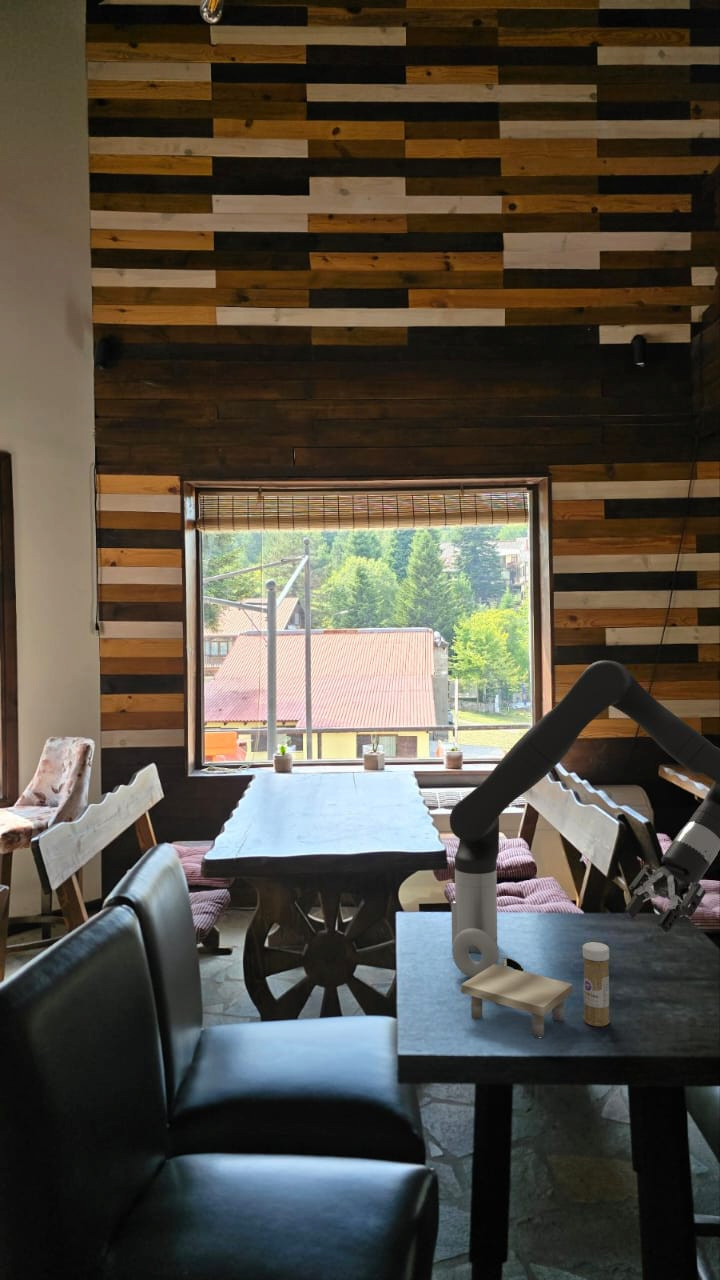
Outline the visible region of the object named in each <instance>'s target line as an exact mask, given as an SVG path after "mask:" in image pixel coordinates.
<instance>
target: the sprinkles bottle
mask: <svg viewBox="0 0 720 1280" xmlns="http://www.w3.org/2000/svg"><path fill="white" fill-rule="evenodd" d="M582 958H583V1017H582V1019H583V1021H584V1022H585V1023H586V1024H588V1025H590V1026H594V1027H605V1026H607V1025H609V1023H610V1021H611V1020H610V973H609V961H610V948H609V946H608V945H606V944H605V943H602V942H595V941H594V942H593V941H591V942H586V943H584V944H582Z"/></svg>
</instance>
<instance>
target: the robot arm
mask: <svg viewBox="0 0 720 1280" xmlns="http://www.w3.org/2000/svg"><path fill="white" fill-rule="evenodd" d="M609 707H613V709H616V710H618V711H619V712H621V713H623V714H624V715H626V716H627V717H628V718H629V719H631V720H633V721H634V722H635V723H636V724H637V725H639V726H640V727H641V728H642V729H643V730H644V731H645V732H646V733H647V734H648V735H649V737H650V738H652V739H653V740H654V742H655V743H656V744H657V745H658V746H659V747H660V748H661V749H662V750H663V751H665V753H667V754H668V755H669V756H671V758H673V759H674V760H675V761H677V763H679V764H680V765H681V766H683V768H685V769H686V770H687V771H689V772H691V773H692V774H694V775H704V776H706V777H707V778H709V779H711V780H712V781H714V782H713V783H712V785H711V786H710V788H709V790H708V791H707V793H706V796H704V799H703V801H702V803H701V804H700V805H699V807H698V808H697V809H696V810H695V811H694V813H693V814H692V816H691V817H690V819H689V820H688V822H686V824H685V825H684V826H683V827H682V829H680V831H679V832H678V834H677V835H676V836H675V838H674V839H673V841H672V842H671V843H670V845H669V847H668V848H667V849H666V851H665V853H664V854H663V855H662V857H661V866H660V867H659V868H658V869H653V868H652V867H651V866H650V865H649V864H645V865H644V866H643V868H642V869H641V870H640V872H638V874H637V876H636V877H635V878H634V879H633V881H632V882H631V884H630V885H629V886H628V888H629V890H630V891H631V892H632V893H633V896H632V897H631V899H630V900H629V902H628V903H627V904H626V906H625V908H624V909H625V910H624V912H625V914H626V915H628V916H629V917H630V918H631V919H635V918H636V916H637V915H638V913H639V912H640V911H641V909H642V907H643V906H644V904H645V902H646V901H648V900H651V899H656V898H658V897H661V898H664V899H665V898H666V899H667V900H669V902H670V908H669V907H668V908H667V909H666V911H664V914H663V915H662V916H661V918H660V920H659V921H658V923H657V926H658V928H659V929H660V930H661V931H662V932H664V933H668V932H669V931H670V930H671V929H673V927H674V926H675V924H676V922H677V921H678V919H679V918H682V917H683V916H687V918H691V917H693V916H694V914H695V912H696V910H697V909H698V907H699V905H700V904H701V903H702V900H703V899H704V897H705V895H706V894H707V891H706V889H705V887H704V886H702V884H701V883H700V882H701V879H702V878H703V877H704V875H705V874H706V872H707V871H708V870H709V867H710V866H711V865H712V863H713V861H714V860H715V858H716V857H717V856H718V853H719V851H720V748H719V747H717V746H716V745H714V744H713V743H712V742H711V741H710V740H709V739H707V738H706V737H704V736H703V735H702V734H701V733H699V731H697V730H696V729H694V728H693V727H692V726H690V725H689V724H688V723H686V722H685V721H684V720H683V719H681V718H680V717H679V716H677V715H675V714H674V713H673V712H672V711H670V710H669V709H668V708H666V707H665V706H664V705H663V704H661V703H660V702H659V701H658V700H657V699H656V698H654V697H653V696H652V695H651V694H650V693H649V692H648V691H647V690H646V689H645V688H644V687H643V686H642V685H641V684H640V683H639V682H638V681H637V680H636V678H635V677H634V676H633V675H632V674H631V673H630V672H629V671H628V669H627V668H626V667H625V666H624V665H623V664H622V663H620V662H617V661H614V660H607V659H606V660H598V661H596V662H592V663H591V664H590V665H589V666H587V667H586V668H585V670H584V671H583V672H582V673H581V675H580V676H579V677H578V679H577V681H576V682H575V683H574V684H573V685H572V687H571V688H570V689H569V690H568V692H567V693H566V694H565V695H564V696H563V698H561V700H560V701H559V702H558V703H557V704H556V705H555V706H554V707H553V708H552V709H551V710H549V711H548V712H547V713H546V714H545V715H543V716H542V717H541V718H540V719H539V720H538V721H537V722H536V723H535V724H534V725H532V726H531V727H530V729H528V731H526V733H524V735H523V736H522V737H520V738H519V739H518V740H517V742H516V743H515V744H514V745H513V746H512V747H511V748H510V749H509V751H508V752H507V753H506V754H505V755H504V756H503V757H502V759H501V760H500V761H499V762H498V764H497V765H495V768H493V770H492V771H491V772H490V773H489V775H488V776H487V777H486V779H484V781H482V782H481V783H480V784H479V785H478V786H477V787H476V788H474V789H473V790H472V791H471V792H470V793H469V794H467V795H466V796H465V797H464V798H463V799H461V800H459V801H458V802H457V803H455V805H454V806H453V808H452V809H451V811H450V815H449V827H450V830H451V832H452V834H453V835H454V836H455V837H456V838H457V839H458V840H459V843H458V848H457V851H456V854H455V855H454V899H455V900H453V901H452V902H451V945H452V946H453V942H454V940H455V938H456V936H457V935H458V934H459V933H460V932H461V931H463V930H466V929H469V928H476V929H479V930H482V931H484V932H485V933H486V934H488V935H489V936H490V937H491V938H492V940H493V941H494V942H495V944H496V947H497V948H498V897H497V896H498V895H497V894H498V892H497V889H498V887H497V883H498V882H497V860H498V855H499V848H500V816H501V814H503V812H504V811H505V810H506V809H507V808H508V807H509V805H511V804H512V803H513V802H514V801H515V800H517V799H518V798H520V797H521V796H522V795H524V794H525V793H527V792H528V791H529V790H530V789H532V788H533V787H534V786H536V785H537V784H538V783H539V782H541V781H542V780H543V779H544V777H546V776H547V775H548V774H549V773H550V772H551V771H552V770H553V769H554V768H555V767H556V766H557V765H558V764H560V762H561V761H562V759H564V757H565V756H566V755H567V754H568V752H569V751H570V749H571V748H572V747H573V746H574V743H575V742H576V740H577V739H578V738H579V736H580V734H581V733H582V732H583V731H584V730H585V728H586V727H587V726H588V725H589V724H590V723H591V722H592V721H594V720H595V719H596V718H597V717H598V716H600V715H601V714H602V713H603V712H604V711H605V710H606V709H608V708H609ZM639 884H640V885H639ZM638 886H639V887H638ZM652 887H653V888H652ZM468 952H470V953H478V954H479V953H480V954H482V953H481V951H480V950H479V948H477V947H476V946H470V947H469V950H468Z"/></svg>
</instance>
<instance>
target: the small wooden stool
mask: <svg viewBox="0 0 720 1280" xmlns="http://www.w3.org/2000/svg"><path fill="white" fill-rule="evenodd" d="M460 987H461V988H460V991H461V992H460V993H461V994H464V995H466V996H470V1007H471V1009H470V1012H471V1013H470V1014H471V1015H470V1016H471V1019H473V1020H482V1019H483V1014H484V1013H483V1000H484V1001H488V1002H492V1003H493V1004H496V1005H501V1006H506V1007H508V1008H513V1009H516V1010H519V1011H522V1012H526V1013H529V1014H530V1013H531V1036H532V1035H533V1036H534V1037H533V1036H532V1037H533V1038H535V1037H537V1038H536V1039H540V1038H539V1037H543V1036H544V1037H545V1016H546V1015H547V1014H548V1013H550V1012H551V1011H552V1012H551V1017H552V1020H553V1021H556V1022H563V1021H564V1020H565V1018H564V1017H565V1012H564V1009H565V1008H564V1007H565V1003H564V1001H565V1000H566V999H567V998H568V997H569V996H571V995H572V994H573V993H574V984H573V983H570V982H565V981H562V980H558V979H554V978H550V977H545V976H542V975H538V974H534V973H530V972H526V971H519V970H515V969H513V968H511V967H508V966H507V967H503V966H500V964H498V965H495V964H493V965H492V966H490V967H488V968H487V969H485V970H484V971H482V972H480V973H479V974H477V975H476V976H474V977H472V978H469V979H467V980H466V981H465V982H463V983H462V984H461V985H460ZM544 1037H543V1038H544Z"/></svg>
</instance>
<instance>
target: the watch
mask: <svg viewBox="0 0 720 1280" xmlns="http://www.w3.org/2000/svg"><path fill="white" fill-rule="evenodd" d="M499 966H503V967H507V968H511V969H515V970H519V971H523V972H525V971H524V967H522V965H521V964H520V963H518V961H516V960H514V959H512V958H508V957H503V958H502V959H501V961H500V964H499Z"/></svg>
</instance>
